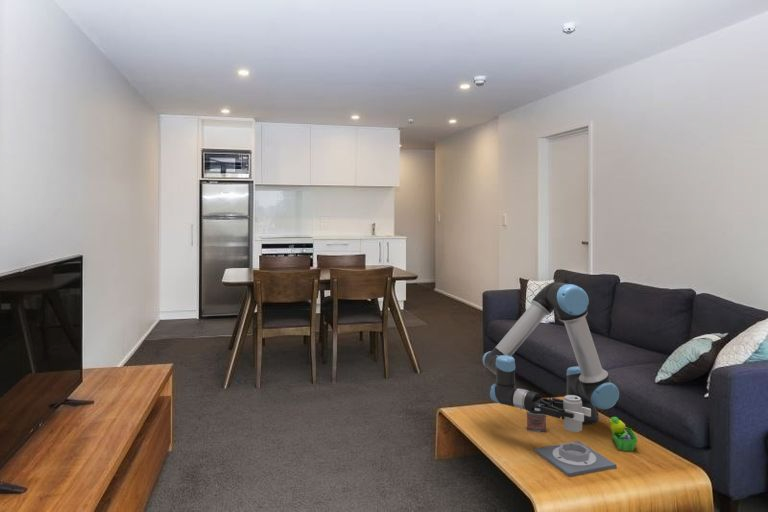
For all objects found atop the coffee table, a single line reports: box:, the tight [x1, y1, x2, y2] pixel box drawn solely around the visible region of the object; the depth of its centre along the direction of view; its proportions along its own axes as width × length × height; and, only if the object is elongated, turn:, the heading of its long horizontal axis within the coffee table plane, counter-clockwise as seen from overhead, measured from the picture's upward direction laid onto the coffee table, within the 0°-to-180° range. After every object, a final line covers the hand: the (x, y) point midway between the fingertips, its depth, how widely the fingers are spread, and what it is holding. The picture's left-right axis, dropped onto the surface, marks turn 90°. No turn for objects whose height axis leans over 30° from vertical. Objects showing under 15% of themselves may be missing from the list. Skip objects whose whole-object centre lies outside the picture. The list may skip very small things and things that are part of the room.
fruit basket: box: [609, 416, 638, 452], centre depth 189 cm, size 11×9×11 cm
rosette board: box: [534, 441, 617, 477], centre depth 178 cm, size 20×20×4 cm
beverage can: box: [562, 394, 583, 433], centre depth 178 cm, size 6×6×12 cm
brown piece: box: [526, 410, 547, 433], centre depth 205 cm, size 8×3×10 cm, turn 68°
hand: (586, 415), depth 174 cm, fingers closed on beverage can, 6 cm apart
